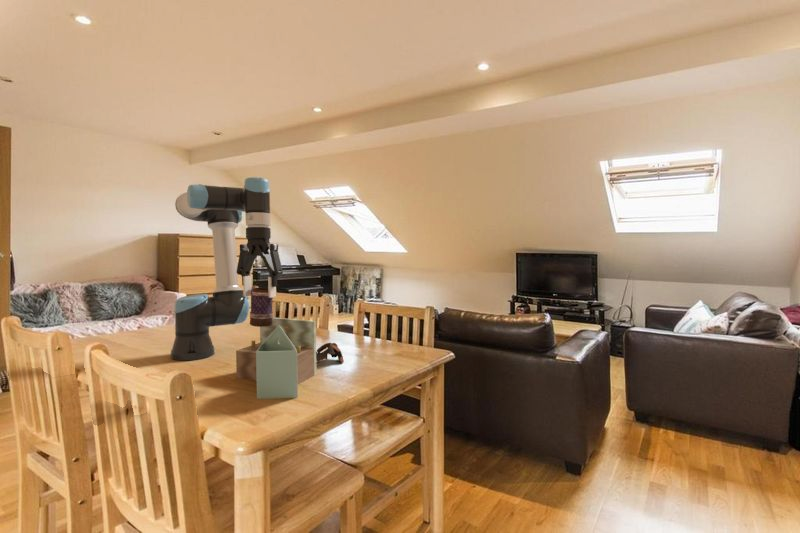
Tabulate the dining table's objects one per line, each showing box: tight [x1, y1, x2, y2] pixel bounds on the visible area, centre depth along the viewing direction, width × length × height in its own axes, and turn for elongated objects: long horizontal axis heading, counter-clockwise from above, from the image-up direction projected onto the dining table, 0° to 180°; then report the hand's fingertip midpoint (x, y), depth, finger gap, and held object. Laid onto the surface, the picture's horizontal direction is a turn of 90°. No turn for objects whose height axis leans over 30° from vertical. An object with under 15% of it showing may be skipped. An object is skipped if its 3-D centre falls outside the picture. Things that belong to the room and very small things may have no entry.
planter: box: [256, 325, 299, 400], centre depth 120 cm, size 16×8×20 cm, turn 52°
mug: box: [249, 285, 274, 328], centre depth 135 cm, size 10×7×12 cm
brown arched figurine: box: [316, 342, 345, 365], centre depth 154 cm, size 12×10×8 cm
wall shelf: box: [235, 317, 317, 385], centre depth 137 cm, size 22×13×18 cm, turn 68°
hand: (259, 296), depth 135 cm, fingers closed on mug, 9 cm apart
